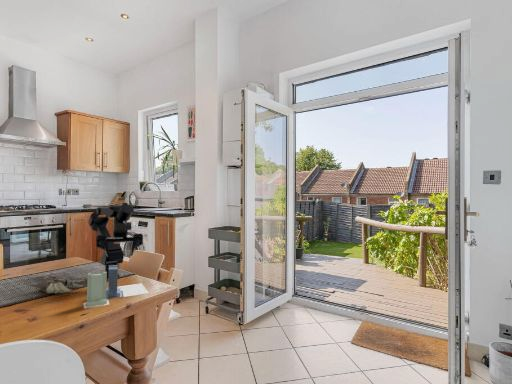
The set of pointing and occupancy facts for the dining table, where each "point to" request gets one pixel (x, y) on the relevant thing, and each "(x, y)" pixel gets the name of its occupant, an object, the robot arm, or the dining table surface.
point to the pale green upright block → (96, 289)
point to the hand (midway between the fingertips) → (120, 256)
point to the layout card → (125, 292)
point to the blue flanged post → (113, 283)
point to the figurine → (56, 284)
